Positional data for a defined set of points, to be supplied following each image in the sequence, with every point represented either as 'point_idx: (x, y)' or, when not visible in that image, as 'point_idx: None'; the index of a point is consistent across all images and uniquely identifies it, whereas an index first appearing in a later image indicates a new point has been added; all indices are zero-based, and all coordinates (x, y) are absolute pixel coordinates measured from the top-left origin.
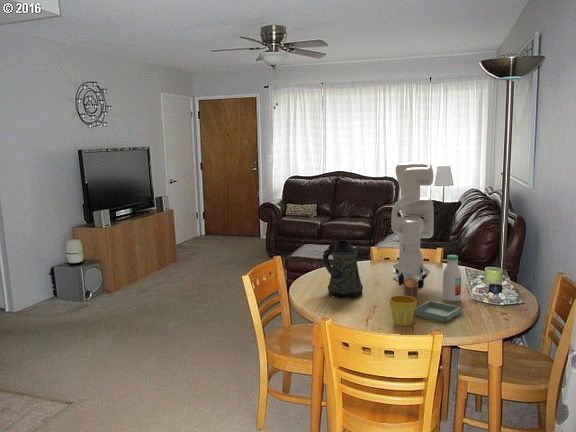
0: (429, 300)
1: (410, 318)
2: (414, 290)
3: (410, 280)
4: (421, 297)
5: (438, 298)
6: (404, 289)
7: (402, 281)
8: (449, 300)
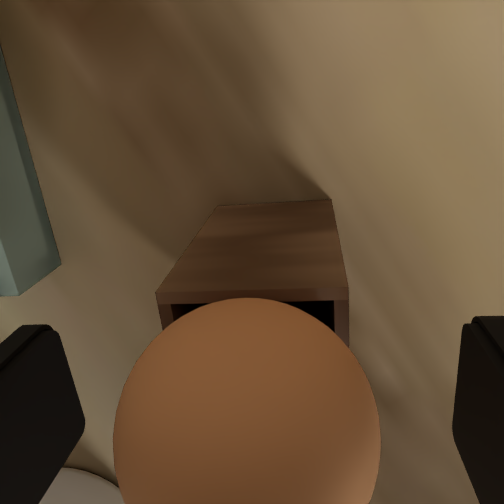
0: (10, 285)
1: None
2: None
3: (174, 425)
4: None
5: None
6: (336, 266)
7: (476, 433)
8: None
